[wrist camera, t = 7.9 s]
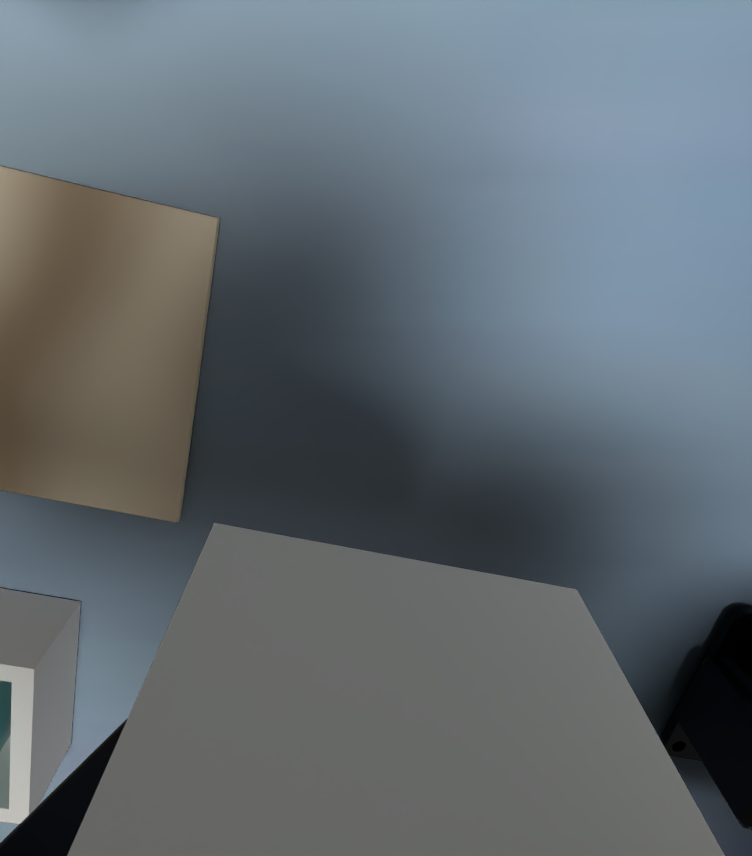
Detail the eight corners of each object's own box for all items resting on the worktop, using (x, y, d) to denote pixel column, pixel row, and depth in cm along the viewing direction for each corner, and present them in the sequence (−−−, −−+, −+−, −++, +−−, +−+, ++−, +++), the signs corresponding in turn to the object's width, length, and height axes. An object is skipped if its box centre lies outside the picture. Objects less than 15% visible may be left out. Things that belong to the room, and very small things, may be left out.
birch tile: (220, 218, 15) (217, 218, 15) (180, 518, 18) (177, 522, 18) (-153, 128, 14) (-162, 127, 14) (-128, 460, 18) (-136, 464, 17)
